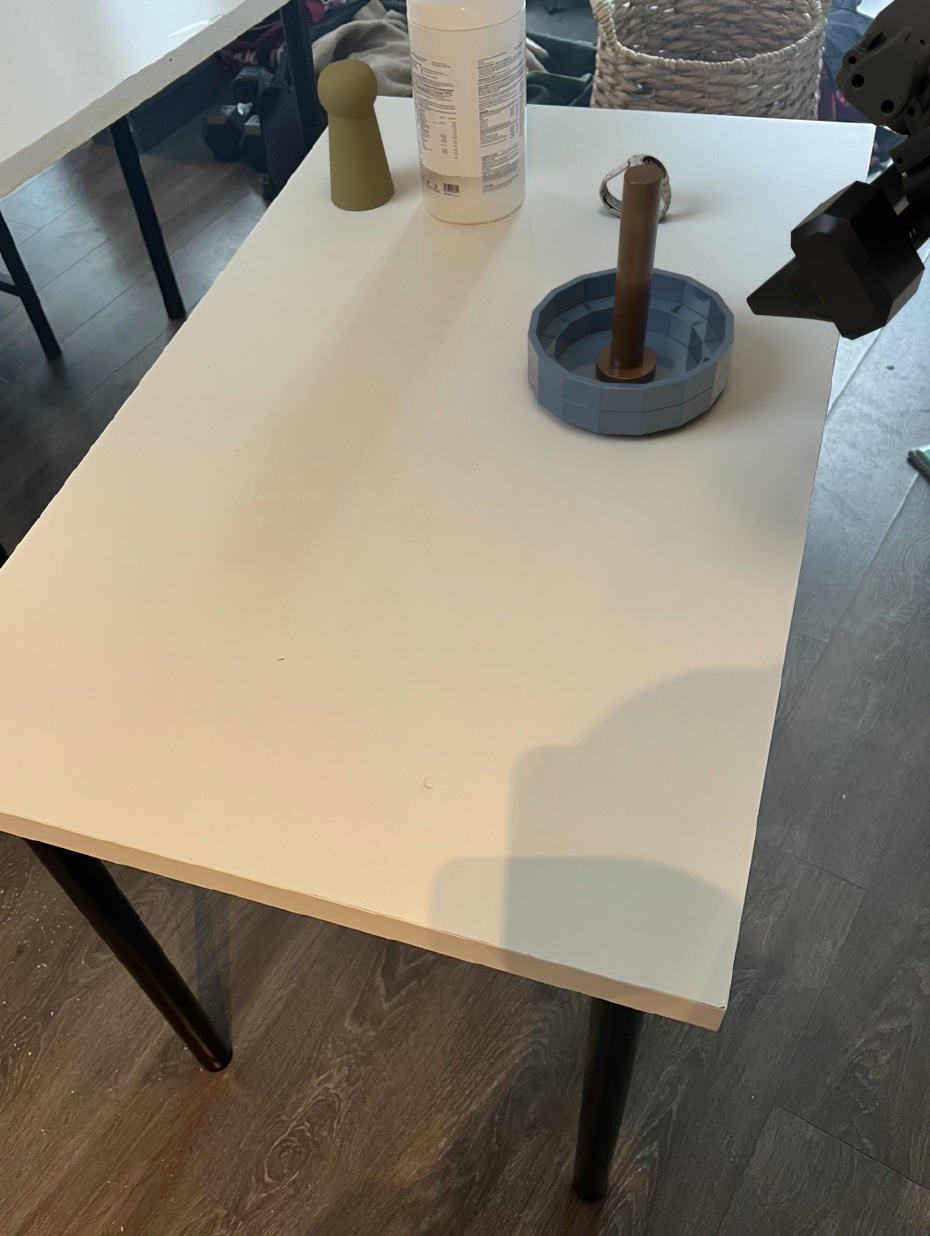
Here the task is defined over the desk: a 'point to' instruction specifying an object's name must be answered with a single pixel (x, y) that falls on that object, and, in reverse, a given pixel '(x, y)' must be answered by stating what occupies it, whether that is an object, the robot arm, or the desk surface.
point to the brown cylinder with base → (633, 280)
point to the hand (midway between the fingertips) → (791, 266)
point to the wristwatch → (639, 159)
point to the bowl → (676, 331)
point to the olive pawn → (354, 136)
